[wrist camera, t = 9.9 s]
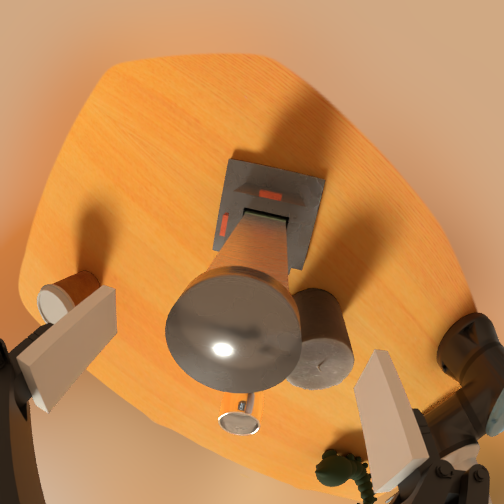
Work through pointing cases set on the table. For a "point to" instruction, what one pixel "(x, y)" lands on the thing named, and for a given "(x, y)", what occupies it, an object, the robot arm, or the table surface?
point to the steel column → (240, 312)
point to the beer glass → (241, 412)
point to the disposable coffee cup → (65, 295)
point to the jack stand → (270, 203)
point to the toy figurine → (345, 473)
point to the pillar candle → (321, 342)
